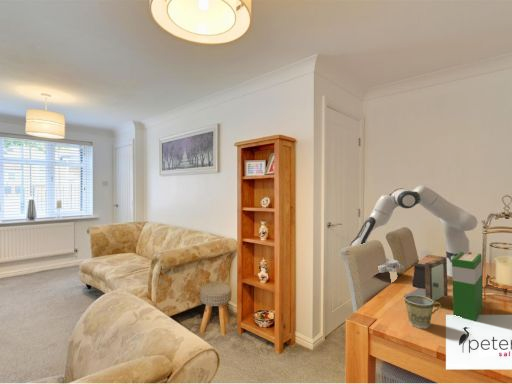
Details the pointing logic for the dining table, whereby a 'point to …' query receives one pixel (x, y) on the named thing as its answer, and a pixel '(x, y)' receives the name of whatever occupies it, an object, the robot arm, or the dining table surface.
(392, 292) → the dining table surface
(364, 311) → the dining table surface
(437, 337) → the dining table surface
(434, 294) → the door
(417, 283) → the door stopper
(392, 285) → the dining table surface
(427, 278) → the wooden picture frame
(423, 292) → the threshold mat
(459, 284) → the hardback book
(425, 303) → the ceramic cup
